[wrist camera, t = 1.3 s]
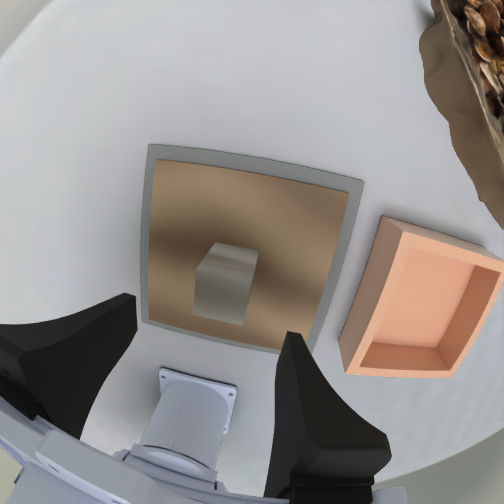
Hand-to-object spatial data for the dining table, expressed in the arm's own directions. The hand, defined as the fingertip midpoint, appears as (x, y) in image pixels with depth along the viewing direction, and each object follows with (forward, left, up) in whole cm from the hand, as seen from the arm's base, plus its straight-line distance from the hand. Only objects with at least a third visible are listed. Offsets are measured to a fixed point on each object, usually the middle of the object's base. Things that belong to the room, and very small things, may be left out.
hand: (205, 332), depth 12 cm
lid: (0, 0, -8) cm, 8 cm away
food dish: (+25, -26, -9) cm, 37 cm away
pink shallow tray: (0, -15, -9) cm, 17 cm away
